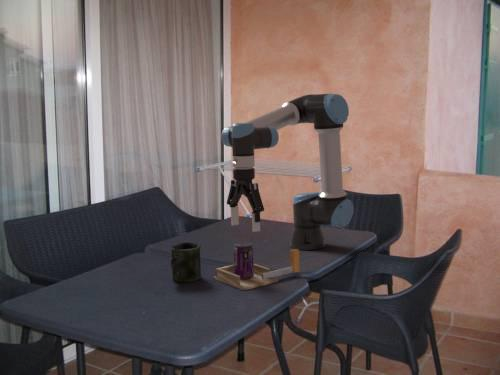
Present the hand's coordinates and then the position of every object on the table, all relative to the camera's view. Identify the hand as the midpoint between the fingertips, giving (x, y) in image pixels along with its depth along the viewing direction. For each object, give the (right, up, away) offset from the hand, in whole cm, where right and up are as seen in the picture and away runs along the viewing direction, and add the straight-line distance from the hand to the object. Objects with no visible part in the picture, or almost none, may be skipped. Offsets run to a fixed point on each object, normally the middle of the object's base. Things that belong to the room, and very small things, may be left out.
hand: (245, 228), depth 211 cm
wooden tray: (-1, -18, +2) cm, 18 cm away
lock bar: (+12, -17, +2) cm, 21 cm away
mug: (-22, -19, +4) cm, 29 cm away
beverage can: (-1, -18, +2) cm, 18 cm away
